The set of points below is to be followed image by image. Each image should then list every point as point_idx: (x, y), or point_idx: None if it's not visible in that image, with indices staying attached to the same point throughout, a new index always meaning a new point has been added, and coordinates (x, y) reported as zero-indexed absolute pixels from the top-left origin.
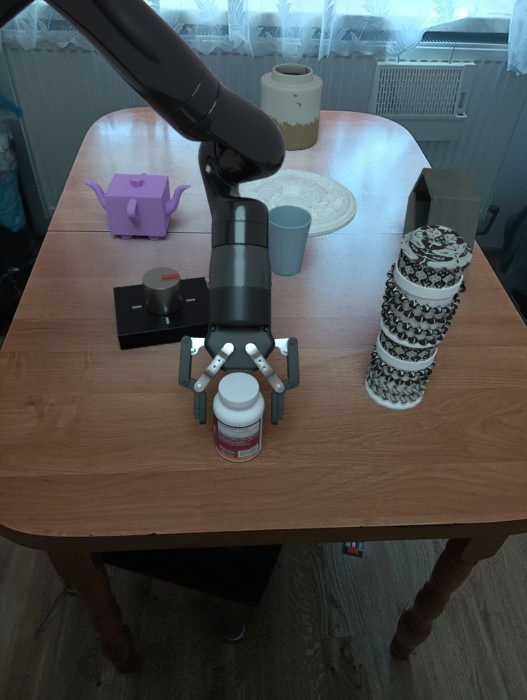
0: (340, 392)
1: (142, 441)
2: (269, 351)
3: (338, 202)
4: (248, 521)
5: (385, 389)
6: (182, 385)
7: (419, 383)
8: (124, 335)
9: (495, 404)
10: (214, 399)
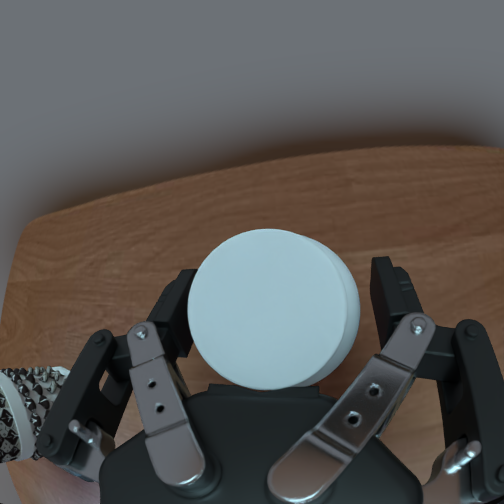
0: (123, 416)
1: (468, 303)
2: (124, 443)
3: None
4: (273, 166)
5: (53, 382)
6: (469, 320)
7: (16, 368)
8: (498, 501)
9: (7, 354)
10: (357, 314)
